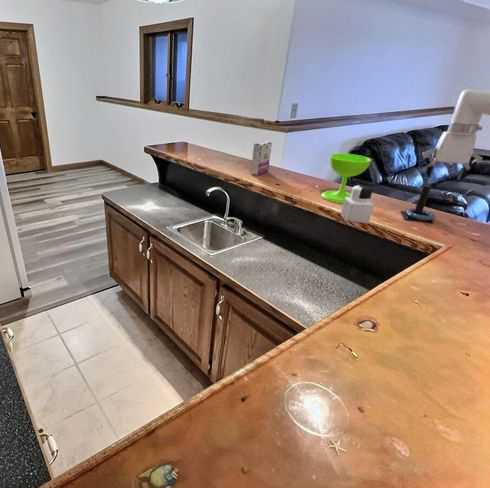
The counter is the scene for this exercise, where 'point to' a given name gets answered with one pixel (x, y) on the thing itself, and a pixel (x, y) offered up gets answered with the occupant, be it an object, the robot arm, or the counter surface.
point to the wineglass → (345, 173)
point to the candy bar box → (261, 157)
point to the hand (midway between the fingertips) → (443, 178)
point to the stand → (419, 206)
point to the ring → (428, 214)
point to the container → (358, 205)
